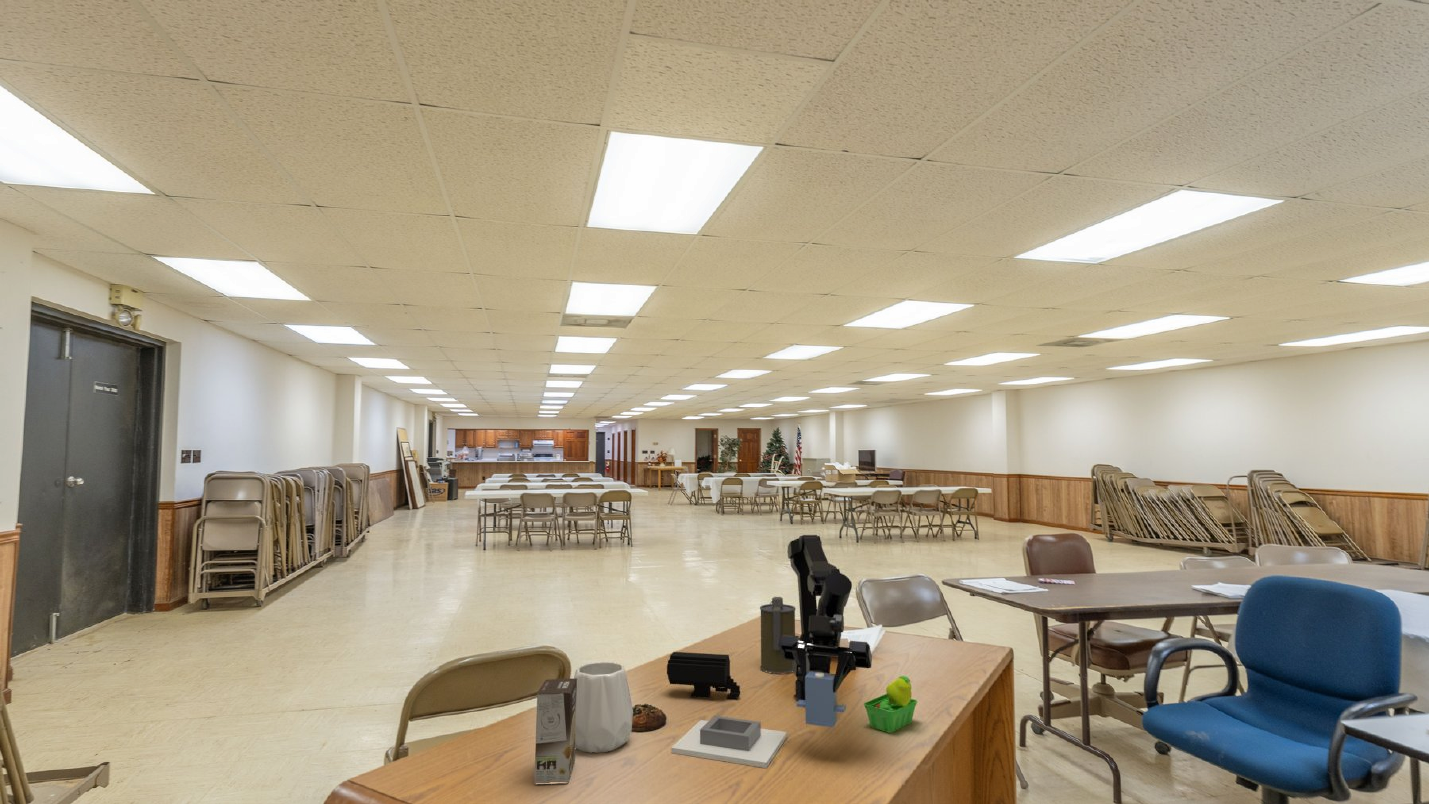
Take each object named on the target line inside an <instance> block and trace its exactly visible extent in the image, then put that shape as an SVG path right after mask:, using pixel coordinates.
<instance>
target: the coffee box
mask: <svg viewBox="0 0 1429 804" xmlns="http://www.w3.org/2000/svg"><path fill="white" fill-rule="evenodd" d="M576 695H577V679H576V678H575V679H574V678H572V677H571V678H570V677H569V678H555V679H554V678H552V679H545V681H544V682H543V684H542V685H541V687H540V688H539V689H538V690H537V693H536V718H535V719H536V720H535V721H536V722H535V723H536V725H535V748H534V749H535V753H534V755H535V756H534V758H535V759H534V780H533V781H534V782H533V783H534V784H536V783H550V782H568V783H569V782H570V779H571V776H570V775H572V773H573V769H574V767H575V763H576V749H575V736H576Z"/></svg>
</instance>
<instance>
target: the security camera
mask: <svg viewBox="0 0 1429 804" xmlns="http://www.w3.org/2000/svg"><path fill="white" fill-rule="evenodd" d="M666 675H667V680H668V682H669V685H679V686H693V690H692V691H691V693H690V697H691V698H701V699H702V698H703V699H709V698H710V697H711V694H712V692H711V688H712V689H714V691H715V692H721V693H722V692H723V693H727V695H726V700H729V701H736V700H737V699H738V698H739V697H740V696H741V689H740V688H741V685H737V684H738V682H737V681H735V679H734V678H732V676H731V659H730V655H729V654H721V653H720V654H717V653H704V652H703V653H700V652H685V651H673V652H672V653H671V654H670V655H669V659H668V660H667V664H666ZM728 691H729V693H728Z"/></svg>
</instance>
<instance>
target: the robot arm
mask: <svg viewBox="0 0 1429 804" xmlns="http://www.w3.org/2000/svg"><path fill="white" fill-rule="evenodd" d="M787 559H788V560H789V561H790V568H791V569H792V570H793V571H794V573H795V575H796V576H797V591H798V602H799V603H798V604H799V617H800V628H801V629H800V631H801V635H800V636H799V635H795V636H792V635H783V636H781V637H780V639H779V644H778V646H779V649H780V652H781V655H782V658H783V659H785V660H791V661H792V667H793V672H792V673H793V674H794V676H795V677H796V680H795V683H794V684H795V694H794V695H793V698H795V699H797V700H798V701H799V700H805V676H806V675H807V674H808V672H809V671H812V672H821V673H831V663H832V657H837V664H836V669H835V673H834V674H835V678H834V683H833V692H834V693H836V694H837V691H838V690H839V688H840V686H841V685H842V683H843V681H844V680H845V679H846V678H847V676H848V675H849V674H850V673H851V672H852V671H856V670H857V668H861V669H870V668H872V664H873V655H872V649H871V645H870V644H869V643H868V642H867V641H857V640H850V641H849V644H848V645H849V646H847V647H846V646H841V638H842V633H844V631H845V630H844V628H845V627H844V626H845V617H844V612H845V608H846V607H847V604H848V601H849V597H850V595H851V592H852V588H853V583H852V581H851V579H850V578H849V577H848V576H846V574H844V573H842V572H841V571H840V568H838V567H837V566H835V565H833V564H831V563H829V560H828V559H827V556H826V554H825V551H824V549H823V544H822V540H821V537H820V535H817V534H802V535H800V536H799V538H795V539H794V540H793V539H792V540H791V541H790V542H789V543H788V545H787ZM817 597H819V598H818V603H817Z"/></svg>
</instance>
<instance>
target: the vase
mask: <svg viewBox="0 0 1429 804" xmlns="http://www.w3.org/2000/svg"><path fill="white" fill-rule="evenodd" d="M575 678H576V679H577V695H576V736H575V748H576V749H575V750H578V749H579V750H578V751H581V750H582V751H581V752H584V751H585V752H584V753H588V752H589V754H593V753H592V752H599V753H607V752H608V751H609V752H612V751H614V750H616V749H617V748H620V747H621V746H623V745H624V744H626V743H627V742H628V741H629V737H630V735H631V733H632V731H631V730H632V719H633V708H632V707H633V703H632V697H631V693H630V686H629V682H628V677H627V673H626V670H625V665H622V664H621V663H618V662H614V661H613V662H612V661H599V662H598V661H596V662H589V663H584V664H583V665H581V666H578V667H577V668H576V669H575V671H574V678H573V679H575Z"/></svg>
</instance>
